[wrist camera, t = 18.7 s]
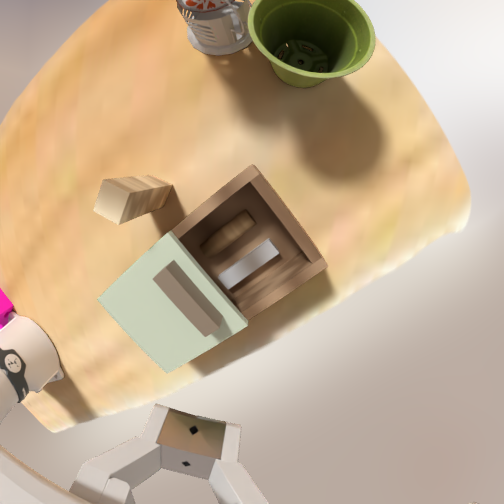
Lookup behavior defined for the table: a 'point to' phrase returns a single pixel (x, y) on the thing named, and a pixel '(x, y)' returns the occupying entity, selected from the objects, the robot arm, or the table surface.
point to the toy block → (4, 309)
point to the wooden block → (131, 197)
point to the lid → (171, 305)
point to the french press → (217, 25)
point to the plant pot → (312, 38)
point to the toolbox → (250, 243)
